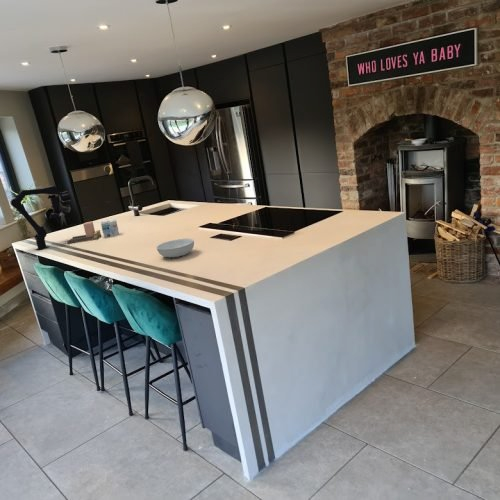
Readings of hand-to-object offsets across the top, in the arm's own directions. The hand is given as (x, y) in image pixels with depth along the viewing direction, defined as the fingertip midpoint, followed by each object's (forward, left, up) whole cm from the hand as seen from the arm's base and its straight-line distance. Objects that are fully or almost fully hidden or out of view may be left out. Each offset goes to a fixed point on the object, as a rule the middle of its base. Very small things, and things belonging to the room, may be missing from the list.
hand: (61, 225), depth 337 cm
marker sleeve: (0, -19, -11) cm, 22 cm away
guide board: (0, -13, -13) cm, 19 cm away
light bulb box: (0, -33, -13) cm, 36 cm away
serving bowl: (-80, -88, -13) cm, 120 cm away
